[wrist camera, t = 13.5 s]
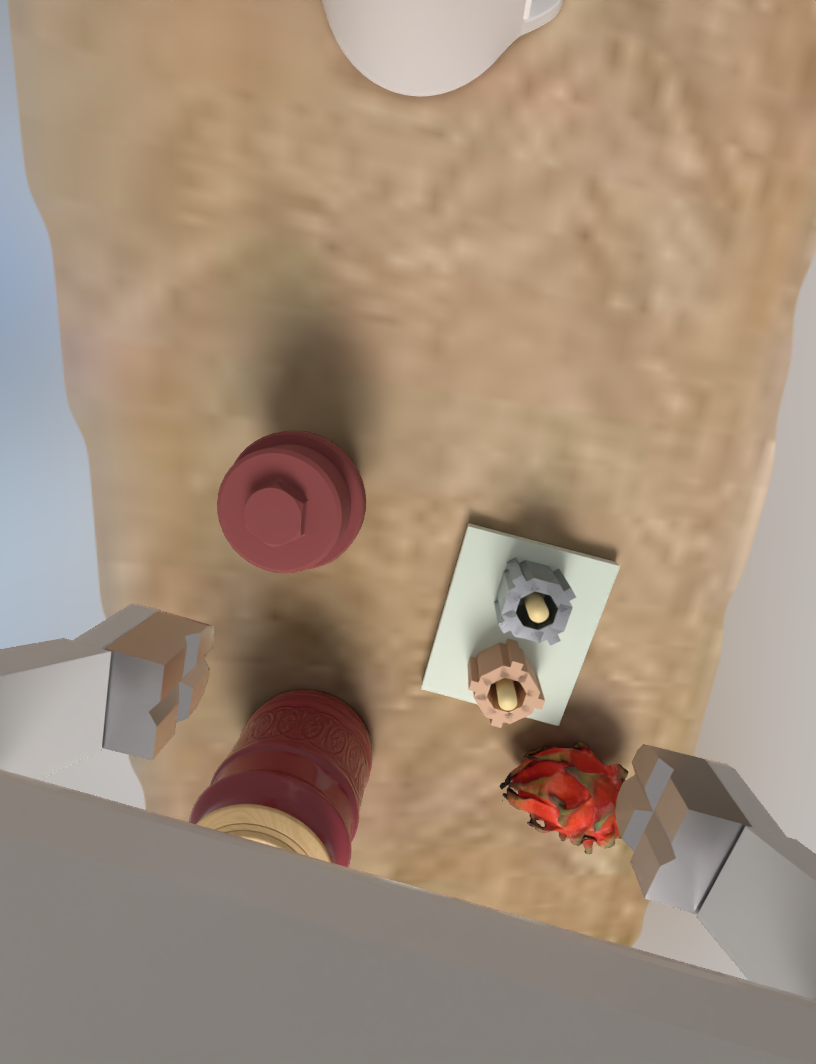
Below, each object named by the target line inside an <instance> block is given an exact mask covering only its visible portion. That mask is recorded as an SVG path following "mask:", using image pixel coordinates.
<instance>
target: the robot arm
mask: <svg viewBox="0 0 816 1064" xmlns="http://www.w3.org/2000/svg"><path fill="white" fill-rule="evenodd" d="M321 1H322V3H323V7H324V10H325V13H326V16H327V19H328V22H329V25H330V27H331V30H332V32H333V34H334V37H335V39H336V41H337V42H338V44H339V46H340V48H341V49H342V51H343V52H344V54H345V55H346V57H347V58H348V59H349V61H350V62H351V63H352V64H353V65H354V66H355V67H356V68H357V69H358V70H359V71H360V72H361V73H362V74H363V75H364V76H366V77H367V78H368V79H370V80H371V81H372V82H374V83H376V84H377V85H379V86H381V87H383V88H385V89H387V90H390V91H392V92H395V93H399V94H403V95H409V96H432V95H438V94H443V93H446V92H449V91H452V90H455V89H457V88H459V87H461V86H463V85H465V84H467V83H469V82H470V81H472V80H474V79H475V78H477V77H478V76H479V75H481V74H482V73H483V72H484V71H485V70H487V69H488V68H489V67H490V66H491V65H492V64H493V63H494V62H495V61H496V60H497V59H498V58H499V56H500V55H501V54H502V53H503V52H504V51H505V50H506V49H507V48H508V46H509V45H511V44H512V43H513V42H514V41H515V40H516V39H517V38H518V37H520V36H522V35H524V34H526V33H528V32H531V31H533V30H535V29H537V28H539V27H541V26H543V25H545V24H546V23H548V22H549V21H551V20H552V19H553V18H554V17H556V15H557V14H558V13H559V12H560V10H561V8H562V5H563V2H564V0H321ZM214 637H215V630H214V628H213V626H212V625H208V624H205V623H202V622H198V621H195V620H191V619H188V618H185V617H181V616H178V615H174V614H171V613H168V612H164V611H161V610H159V609H155V608H151V607H147V606H143V605H139V604H131V605H129V606H127V607H126V608H124V609H123V610H121V611H119V612H118V613H116V614H115V615H113V616H111V617H110V618H108V619H106V620H105V621H103V622H102V623H100V624H98V625H97V626H95V627H94V628H92V629H90V630H89V631H87V632H85V633H84V634H82V635H81V636H79V637H78V638H76V639H74V640H73V641H72V640H69V639H65V638H62V639H57V640H52V641H45V642H39V643H34V644H28V645H23V646H17V647H11V648H6V649H0V1064H816V854H815V853H813V852H812V851H811V850H809V849H808V848H807V847H805V846H804V845H803V844H801V843H800V842H799V841H797V840H795V839H792V838H788V837H786V835H785V834H784V833H783V832H782V830H781V829H780V827H779V826H778V825H777V823H776V822H775V821H774V820H773V818H772V817H771V816H770V814H769V813H768V812H767V810H766V809H765V808H764V807H763V805H762V804H761V803H760V801H759V800H758V799H757V797H756V796H755V795H754V793H753V792H752V791H751V790H750V788H749V787H748V786H747V784H746V783H745V782H744V780H743V779H742V778H741V777H740V775H739V774H738V773H737V771H736V770H735V769H734V768H732V767H731V766H729V765H727V764H724V763H720V762H715V761H711V760H707V759H702V758H698V757H694V756H690V755H686V754H682V753H678V752H674V751H670V750H666V749H662V748H658V747H654V746H649V745H644V744H643V745H642V746H641V747H640V748H639V749H638V750H637V752H636V754H635V756H634V758H633V761H632V765H633V768H634V771H635V774H636V775H634V776H632V777H631V778H629V779H627V780H626V781H624V782H623V783H622V786H621V788H620V791H619V793H618V796H617V802H616V812H615V814H616V821H617V827H618V830H619V833H620V835H621V838H622V839H623V841H624V842H625V843H626V844H627V845H628V846H629V847H630V848H631V849H632V850H633V851H634V854H633V857H632V859H631V861H630V862H631V865H632V867H633V870H634V872H635V875H636V877H637V880H638V883H639V885H640V888H641V890H642V893H643V896H644V898H645V899H648V900H652V901H655V902H658V903H661V904H665V905H668V906H671V907H674V908H677V909H680V910H684V911H687V912H690V913H693V914H697V919H698V920H699V921H700V922H701V923H702V925H703V926H704V927H705V928H706V929H707V931H708V932H709V933H710V934H711V935H712V937H713V938H714V939H715V940H716V942H717V943H718V944H719V945H720V947H721V948H722V949H723V950H724V951H725V953H726V954H727V955H728V956H729V957H730V959H731V960H732V961H733V962H734V963H735V965H736V966H737V967H738V968H739V970H740V971H741V972H742V973H743V974H744V976H745V977H746V978H747V979H748V980H744V979H741V978H737V977H734V976H730V975H726V974H723V973H720V972H716V971H712V970H709V969H705V968H702V967H698V966H694V965H691V964H688V963H684V962H680V961H677V960H674V959H670V958H666V957H663V956H659V955H655V954H652V953H649V952H645V951H642V950H638V949H635V948H631V947H627V946H624V945H620V944H617V943H613V942H610V941H606V940H603V939H599V938H596V937H592V936H589V935H585V934H581V933H578V932H574V931H571V930H567V929H564V928H560V927H557V926H553V925H550V924H546V923H543V922H539V921H535V920H532V919H528V918H525V917H521V916H518V915H514V914H511V913H507V912H504V911H500V910H496V909H493V908H489V907H486V906H482V905H479V904H475V903H472V902H468V901H465V900H461V899H458V898H454V897H451V896H447V895H443V894H440V893H436V892H433V891H429V890H426V889H422V888H419V887H415V886H412V885H408V884H405V883H401V882H398V881H394V880H390V879H387V878H383V877H380V876H376V875H373V874H369V873H366V872H362V871H359V870H355V869H352V868H348V867H345V866H341V865H337V864H334V863H330V862H327V861H323V860H320V859H316V858H313V857H309V856H306V855H302V854H299V853H295V852H292V851H288V850H284V849H281V848H277V847H274V846H270V845H267V844H263V843H260V842H256V841H253V840H249V839H246V838H242V837H239V836H235V835H231V834H228V833H224V832H221V831H217V830H214V829H210V828H207V827H203V826H200V825H196V824H193V823H189V822H186V821H182V820H178V819H175V818H171V817H168V816H164V815H161V814H157V813H154V812H150V811H147V810H143V809H139V808H136V807H132V806H129V805H125V804H122V803H118V802H115V801H111V800H108V799H104V798H100V797H97V796H94V795H90V794H87V793H83V792H80V791H76V790H73V789H69V788H65V787H61V786H58V785H55V784H51V783H47V782H44V781H40V779H42V778H45V777H47V776H49V775H51V774H53V773H55V772H57V771H59V770H62V769H64V768H66V767H68V766H70V765H72V764H74V763H76V762H79V761H81V760H83V759H85V758H87V757H89V756H91V755H93V754H95V753H98V752H100V751H101V750H102V748H105V749H109V750H113V751H117V752H121V753H125V754H129V755H133V756H137V757H141V758H145V759H149V760H153V759H154V758H155V757H156V755H157V754H158V753H159V752H160V751H161V749H162V748H163V747H164V746H165V745H166V744H167V742H168V741H169V740H170V739H171V738H172V737H173V735H174V734H175V727H176V723H177V722H179V721H182V720H185V719H187V718H189V716H190V715H191V714H192V713H193V711H194V710H195V709H196V707H197V706H198V704H199V702H200V700H201V698H202V696H203V694H204V691H205V688H206V685H207V681H208V676H209V671H210V668H209V666H208V664H207V662H206V660H205V658H204V657H205V656H206V655H207V654H208V653H209V652H210V651H211V650H212V648H213V645H214Z"/></svg>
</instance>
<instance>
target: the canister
mask: <svg viewBox="0 0 816 1064" xmlns="http://www.w3.org/2000/svg"><path fill="white" fill-rule="evenodd" d="M371 766H372V751H371V740H370V736H369V733H368V730H367V728H366V726H365V724H364V723H363V721H362V720H361V718H360V717H359V716H358V714H357V713H356V712H355V711H354V710H353V709H352V708H351V707H349V706H348V705H347V704H346V703H344V702H343V701H341V700H339V699H338V698H336V697H334V696H331V695H329V694H326V693H323V692H319V691H314V690H293V691H288V692H284V693H281V694H279V695H277V696H275V697H273V698H271V699H270V700H268V701H267V702H266V703H265V704H263V705H262V706H261V707H260V708H259V709H258V710H256V711H255V713H254V714H253V715H252V716H251V717H250V719H249V720H248V722H247V723H246V725H245V726H244V728H243V730H242V733H241V735H240V738H239V739H238V741H237V743H236V744H235V746H234V747H233V749H232V750H231V752H230V754H229V755H228V757H227V758H226V759H225V760H224V761H223V762H222V764H221V765H220V766H219V767H218V769H217V770H216V772H215V774H214V776H213V778H212V781H211V784H210V786H209V787H208V788H207V789H206V790H205V791H204V792H203V793H202V794H201V795H200V796H199V798H198V799H197V801H196V802H195V804H194V806H193V809H192V811H191V815H190V819H189V823H193V824H196V825H200V826H203V827H207V828H210V829H214V830H217V831H221V832H224V833H228V834H231V835H235V836H239V837H242V838H246V839H249V840H253V841H256V842H260V843H263V844H267V845H270V846H274V847H277V848H281V849H284V850H288V851H292V852H295V853H299V854H302V855H306V856H309V857H313V858H316V859H320V860H323V861H327V862H330V863H334V864H337V865H341V866H345V867H349V864H350V859H351V842H352V841H353V839H354V837H355V834H356V831H357V827H358V822H359V810H360V806H361V802H362V798H363V793H364V789H365V787H366V785H367V782H368V780H369V776H370V771H371Z"/></svg>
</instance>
